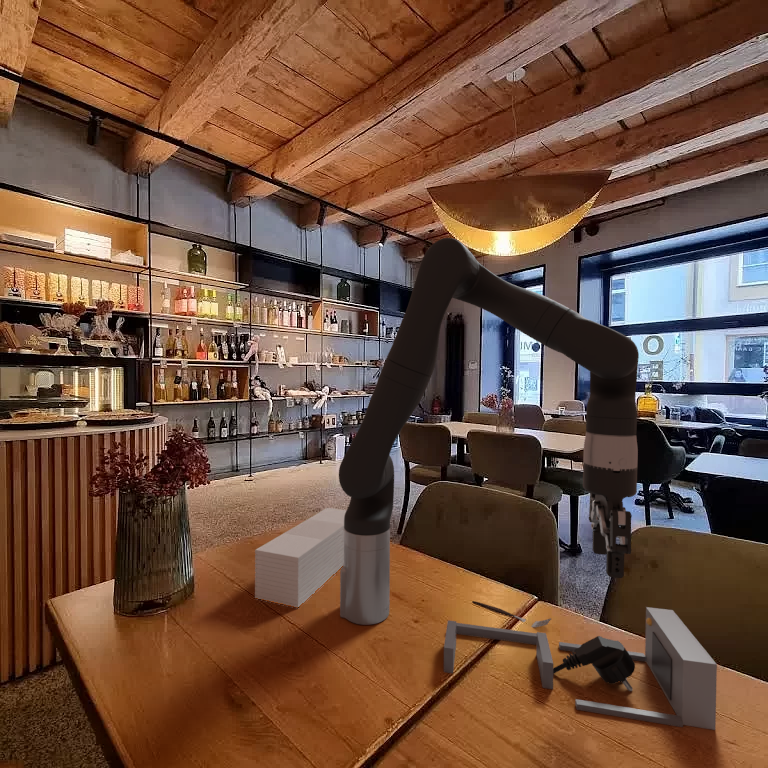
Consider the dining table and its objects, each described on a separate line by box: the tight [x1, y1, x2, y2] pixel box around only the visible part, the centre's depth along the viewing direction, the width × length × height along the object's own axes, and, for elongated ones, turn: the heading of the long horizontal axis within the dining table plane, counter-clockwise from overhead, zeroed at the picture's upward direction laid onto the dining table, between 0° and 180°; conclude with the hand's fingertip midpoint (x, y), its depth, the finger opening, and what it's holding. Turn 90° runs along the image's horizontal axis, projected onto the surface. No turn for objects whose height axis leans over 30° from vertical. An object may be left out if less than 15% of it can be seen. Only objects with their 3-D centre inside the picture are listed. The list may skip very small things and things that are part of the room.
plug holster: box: [443, 620, 554, 690], centre depth 74 cm, size 17×12×4 cm
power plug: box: [553, 635, 636, 693], centre depth 68 cm, size 6×8×12 cm
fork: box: [472, 600, 552, 629], centre depth 87 cm, size 3×16×2 cm, turn 52°
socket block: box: [558, 606, 718, 731], centre depth 68 cm, size 18×15×9 cm
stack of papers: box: [254, 507, 347, 607], centre depth 105 cm, size 32×11×11 cm, turn 159°
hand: (606, 564), depth 68 cm, fingers open, 8 cm apart
